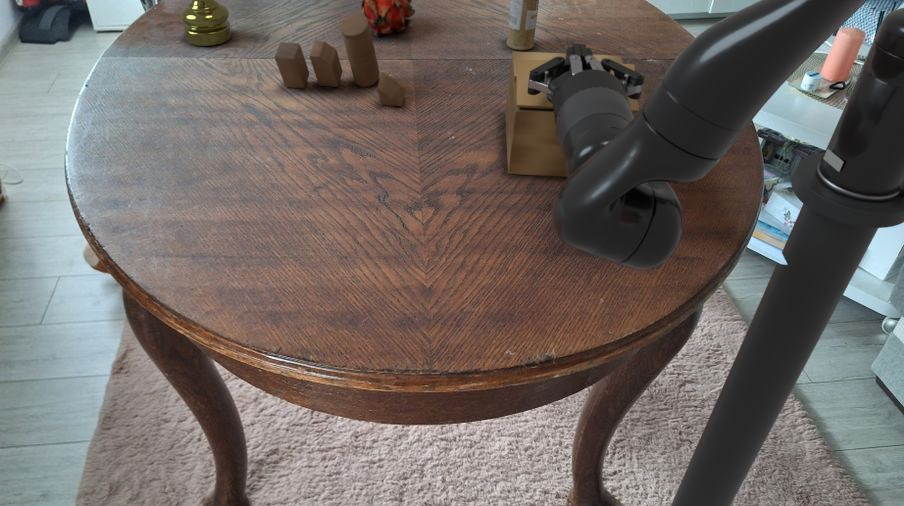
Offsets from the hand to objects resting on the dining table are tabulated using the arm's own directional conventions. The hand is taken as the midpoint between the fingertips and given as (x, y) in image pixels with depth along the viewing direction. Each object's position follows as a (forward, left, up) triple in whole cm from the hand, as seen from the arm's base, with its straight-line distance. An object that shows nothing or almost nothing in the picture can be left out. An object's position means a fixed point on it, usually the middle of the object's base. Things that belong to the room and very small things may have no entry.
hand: (577, 51), depth 87 cm
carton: (0, 0, -13) cm, 13 cm away
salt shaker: (+55, -30, -13) cm, 64 cm away
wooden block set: (+30, -14, -13) cm, 36 cm away
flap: (0, +3, -3) cm, 4 cm away
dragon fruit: (+26, -36, -13) cm, 46 cm away
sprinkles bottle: (+4, -32, -13) cm, 35 cm away
